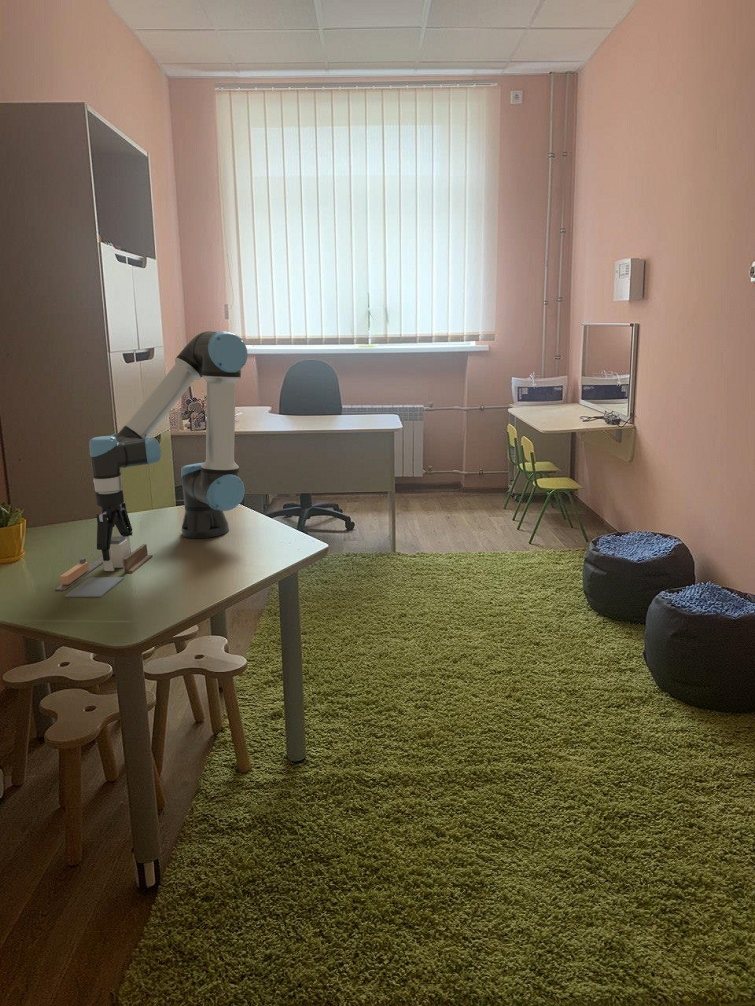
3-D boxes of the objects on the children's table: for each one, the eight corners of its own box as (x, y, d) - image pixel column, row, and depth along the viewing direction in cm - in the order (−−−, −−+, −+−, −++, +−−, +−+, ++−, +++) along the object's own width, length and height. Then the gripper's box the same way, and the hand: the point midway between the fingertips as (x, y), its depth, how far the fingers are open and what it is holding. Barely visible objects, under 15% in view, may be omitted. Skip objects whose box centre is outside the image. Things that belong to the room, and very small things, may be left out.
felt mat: (123, 578, 220) (123, 577, 220) (100, 597, 207) (100, 595, 207) (89, 578, 221) (89, 577, 221) (64, 597, 208) (64, 595, 208)
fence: (152, 556, 238) (150, 544, 237) (132, 572, 225) (131, 559, 224) (144, 556, 239) (143, 544, 238) (124, 572, 225) (123, 559, 224)
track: (111, 556, 240) (111, 555, 240) (64, 590, 213) (64, 588, 213) (102, 557, 240) (102, 555, 240) (55, 590, 214) (54, 588, 213)
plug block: (130, 561, 235) (127, 536, 233) (123, 567, 230) (119, 541, 228) (114, 562, 235) (111, 536, 233) (106, 567, 231) (103, 541, 229)
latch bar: (89, 569, 227) (87, 557, 226) (68, 584, 216) (66, 571, 215) (82, 569, 228) (80, 557, 227) (61, 584, 216) (59, 571, 215)
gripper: (114, 481, 239) (123, 551, 244) (76, 501, 216) (87, 577, 222) (138, 481, 238) (146, 551, 243) (102, 501, 215) (112, 577, 221)
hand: (118, 564), depth 233 cm, fingers open, 11 cm apart
